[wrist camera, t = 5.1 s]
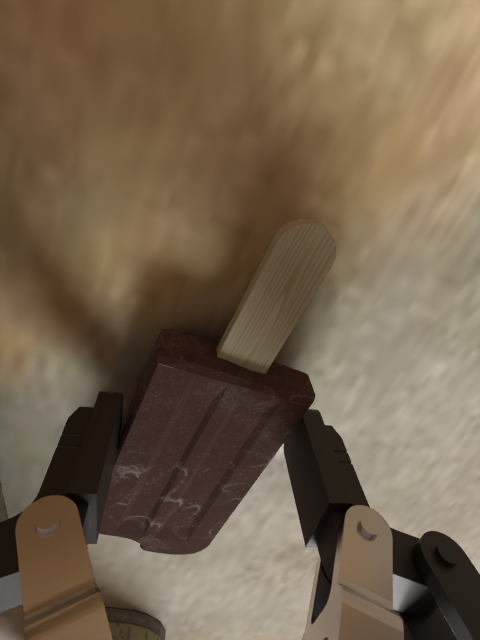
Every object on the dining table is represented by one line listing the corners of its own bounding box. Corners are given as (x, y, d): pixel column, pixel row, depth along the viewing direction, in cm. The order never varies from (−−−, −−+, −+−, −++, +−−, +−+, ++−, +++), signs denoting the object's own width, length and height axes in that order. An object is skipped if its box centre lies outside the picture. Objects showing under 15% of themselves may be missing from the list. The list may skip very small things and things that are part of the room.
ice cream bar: (223, 174, 9) (88, 505, 16) (227, 189, 8) (77, 544, 15) (386, 249, 11) (200, 523, 18) (413, 272, 10) (200, 560, 16)
